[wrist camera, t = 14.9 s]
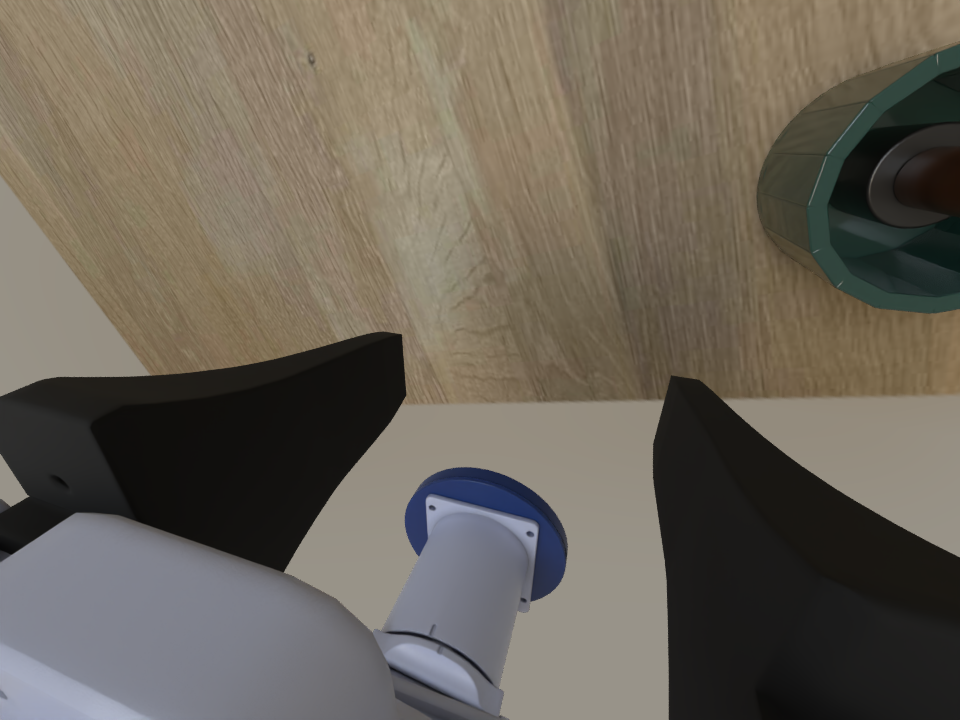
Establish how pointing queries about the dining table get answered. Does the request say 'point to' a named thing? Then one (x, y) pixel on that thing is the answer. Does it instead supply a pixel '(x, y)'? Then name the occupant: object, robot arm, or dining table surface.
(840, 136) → the pot
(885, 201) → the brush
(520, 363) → the dining table surface
